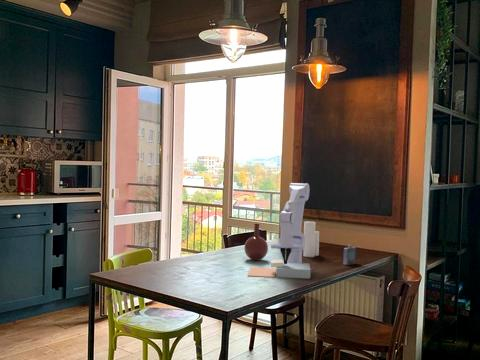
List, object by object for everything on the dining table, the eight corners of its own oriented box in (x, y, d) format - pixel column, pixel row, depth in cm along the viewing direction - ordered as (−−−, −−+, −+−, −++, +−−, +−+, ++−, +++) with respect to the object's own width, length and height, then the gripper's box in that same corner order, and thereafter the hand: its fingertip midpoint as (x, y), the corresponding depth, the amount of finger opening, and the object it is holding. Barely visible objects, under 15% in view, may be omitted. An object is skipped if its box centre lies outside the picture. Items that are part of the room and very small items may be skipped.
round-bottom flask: (252, 256, 275) (253, 222, 274) (272, 259, 268) (273, 224, 267) (239, 260, 264) (240, 224, 263) (259, 263, 257) (260, 226, 256)
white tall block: (311, 257, 277) (312, 223, 276) (300, 256, 281) (301, 222, 280) (319, 254, 287) (321, 221, 286) (308, 253, 291) (310, 220, 290)
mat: (250, 268, 245) (250, 267, 245) (275, 269, 244) (275, 268, 244) (247, 276, 227) (247, 275, 227) (275, 277, 226) (275, 276, 226)
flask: (345, 265, 258) (346, 245, 258) (341, 264, 260) (342, 244, 260) (356, 263, 264) (357, 244, 264) (352, 262, 266) (352, 243, 266)
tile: (271, 263, 239) (271, 259, 239) (283, 263, 238) (283, 259, 238) (270, 267, 231) (270, 263, 231) (283, 266, 230) (283, 262, 230)
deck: (276, 269, 242) (277, 262, 242) (308, 271, 241) (309, 263, 241) (276, 276, 227) (276, 268, 227) (310, 278, 226) (310, 270, 226)
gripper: (271, 236, 231) (270, 264, 231) (301, 237, 229) (300, 266, 230) (271, 234, 238) (270, 261, 238) (301, 235, 236) (300, 263, 237)
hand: (285, 263), depth 234 cm, fingers closed
